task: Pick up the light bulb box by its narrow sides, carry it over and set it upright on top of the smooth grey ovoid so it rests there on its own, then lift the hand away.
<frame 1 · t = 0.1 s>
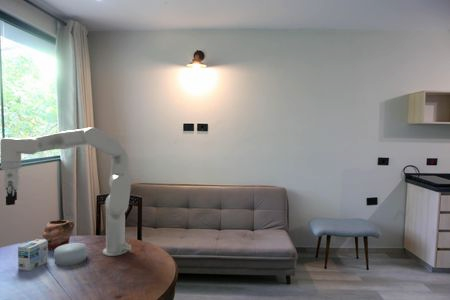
hand: (11, 202, 132), 31 cm above the table, tool pointing down, fingers open, 9 cm apart
orange-brown clay pot: (59, 246, 162), on the table
light bulb box: (33, 266, 138), on the table
smooth grey ovoid: (70, 259, 145), on the table
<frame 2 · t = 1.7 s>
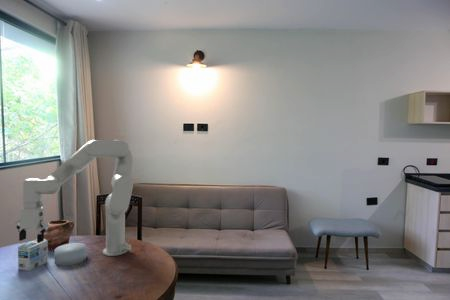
hand: (31, 240, 136), 12 cm above the table, tool pointing down, fingers open, 9 cm apart
nothing on the table moved.
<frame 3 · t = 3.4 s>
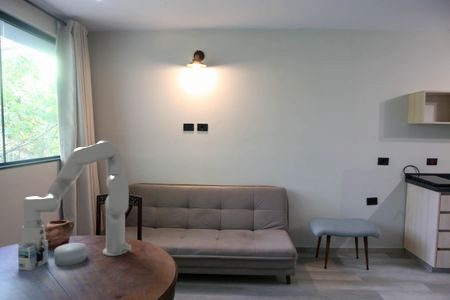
hand: (33, 259, 137), 3 cm above the table, tool pointing down, fingers closed on light bulb box, 6 cm apart
light bulb box: (33, 265, 137), on the table, touching gripper
everything else where it was.
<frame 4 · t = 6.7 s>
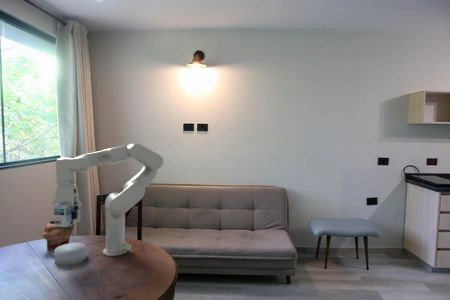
hand: (67, 218, 143), 21 cm above the table, tool pointing down, fingers closed on light bulb box, 6 cm apart
light bulb box: (68, 224, 144), point 18 cm above the table, touching gripper
everything else where it was.
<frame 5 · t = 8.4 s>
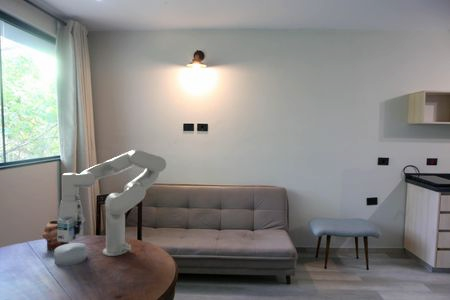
hand: (70, 233, 144), 13 cm above the table, tool pointing down, fingers closed on light bulb box, 6 cm apart
light bulb box: (70, 238, 145), point 10 cm above the table, touching gripper
everything else where it was.
when the fingers open (11 cm above the table, at t = 9.9 s): light bulb box drops 2 cm, resting on smooth grey ovoid.
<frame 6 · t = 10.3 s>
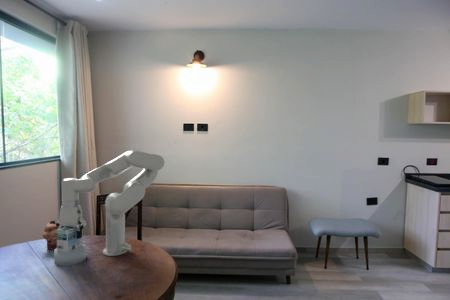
hand: (70, 237, 144), 11 cm above the table, tool pointing down, fingers open, 9 cm apart
light bulb box: (70, 248, 145), point 6 cm above the table, touching smooth grey ovoid
smooth grey ovoid: (70, 260, 145), on the table, touching light bulb box
everything else where it was.
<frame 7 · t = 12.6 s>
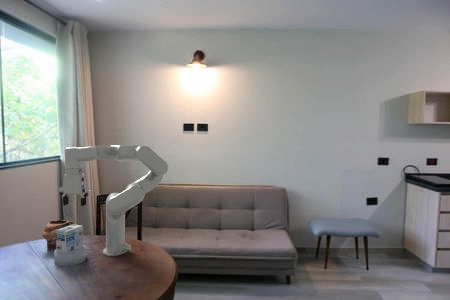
hand: (74, 205, 147), 27 cm above the table, tool pointing down, fingers open, 9 cm apart
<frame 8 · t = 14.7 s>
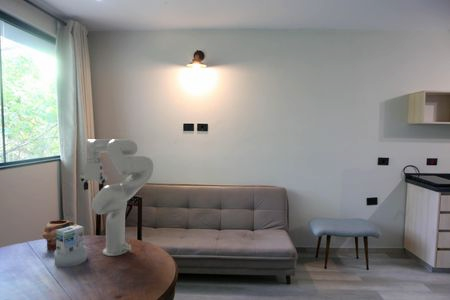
hand: (93, 190, 168), 30 cm above the table, tool pointing down, fingers open, 9 cm apart
at the end: light bulb box inside the target area on the smooth grey ovoid (0.5 cm from its centre), point 5.8 cm above the smooth grey ovoid's base; light bulb box tilted 0°; light bulb box touching smooth grey ovoid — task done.
